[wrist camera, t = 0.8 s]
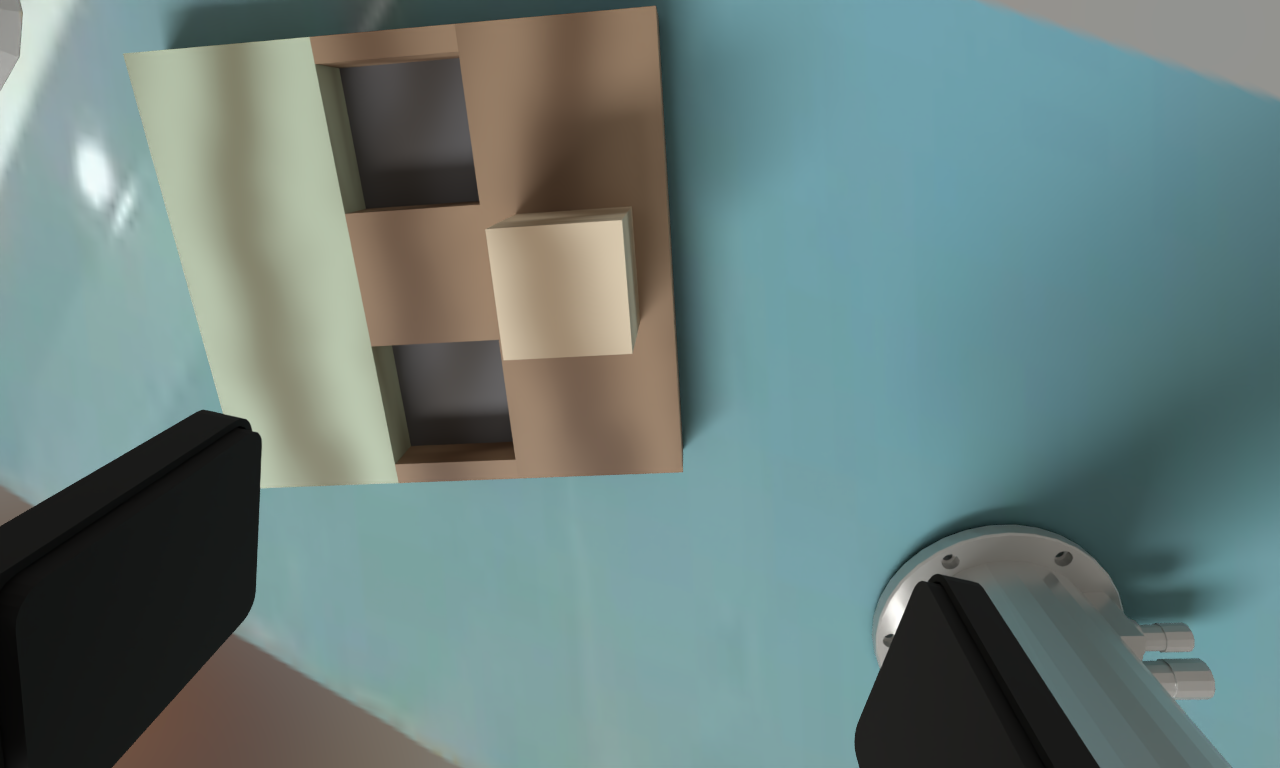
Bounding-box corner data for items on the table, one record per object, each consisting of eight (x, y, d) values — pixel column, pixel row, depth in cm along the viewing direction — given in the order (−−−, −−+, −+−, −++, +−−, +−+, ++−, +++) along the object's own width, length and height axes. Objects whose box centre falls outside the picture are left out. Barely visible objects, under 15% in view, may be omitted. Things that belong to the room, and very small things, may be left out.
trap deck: (658, 15, 30) (655, 5, 28) (682, 450, 37) (682, 472, 35) (164, 59, 32) (123, 53, 30) (270, 466, 39) (244, 488, 36)
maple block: (631, 206, 31) (622, 220, 26) (640, 321, 32) (632, 353, 28) (515, 214, 31) (485, 229, 26) (529, 327, 33) (503, 360, 28)
